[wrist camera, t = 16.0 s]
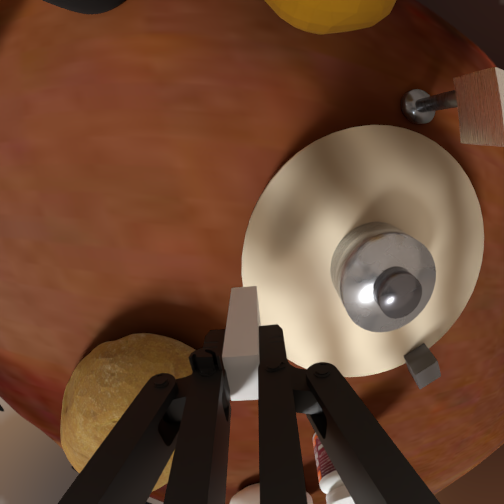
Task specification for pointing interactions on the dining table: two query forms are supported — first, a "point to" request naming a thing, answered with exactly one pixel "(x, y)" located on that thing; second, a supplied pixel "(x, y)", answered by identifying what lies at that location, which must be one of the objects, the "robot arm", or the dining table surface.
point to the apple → (331, 14)
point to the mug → (86, 5)
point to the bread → (114, 390)
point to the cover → (382, 276)
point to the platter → (346, 219)
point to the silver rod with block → (465, 106)
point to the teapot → (254, 496)
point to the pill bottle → (329, 477)
